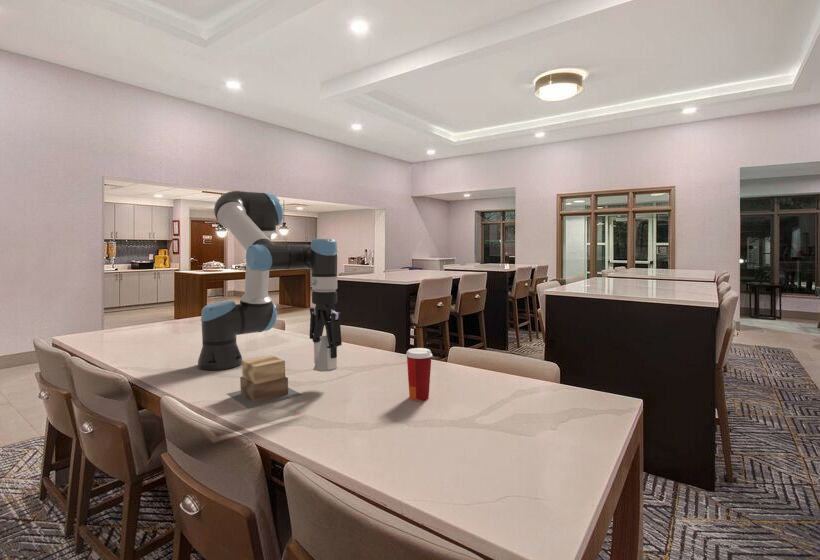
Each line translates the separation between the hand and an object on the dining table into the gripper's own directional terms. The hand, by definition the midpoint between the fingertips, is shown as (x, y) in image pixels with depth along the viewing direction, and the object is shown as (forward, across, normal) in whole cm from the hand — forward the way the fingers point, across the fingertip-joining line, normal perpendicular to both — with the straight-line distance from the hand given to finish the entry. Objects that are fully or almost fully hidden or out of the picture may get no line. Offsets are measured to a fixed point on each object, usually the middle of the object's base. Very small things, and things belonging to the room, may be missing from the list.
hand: (325, 365), depth 132 cm
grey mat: (+8, -7, -16) cm, 19 cm away
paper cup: (+8, +24, +17) cm, 30 cm away
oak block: (+2, -8, -16) cm, 18 cm away
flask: (+1, 0, 0) cm, 1 cm away
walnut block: (+7, -8, -16) cm, 19 cm away
